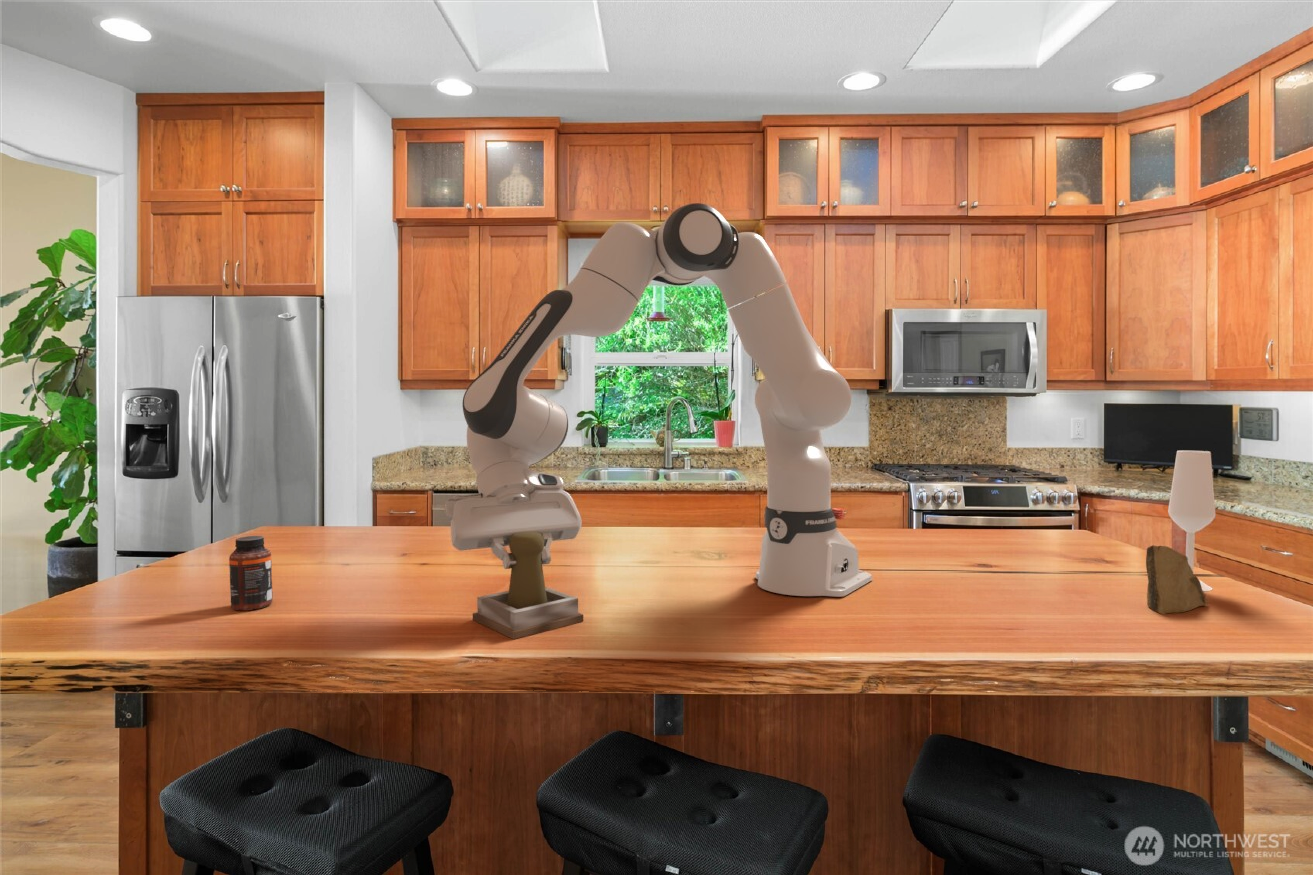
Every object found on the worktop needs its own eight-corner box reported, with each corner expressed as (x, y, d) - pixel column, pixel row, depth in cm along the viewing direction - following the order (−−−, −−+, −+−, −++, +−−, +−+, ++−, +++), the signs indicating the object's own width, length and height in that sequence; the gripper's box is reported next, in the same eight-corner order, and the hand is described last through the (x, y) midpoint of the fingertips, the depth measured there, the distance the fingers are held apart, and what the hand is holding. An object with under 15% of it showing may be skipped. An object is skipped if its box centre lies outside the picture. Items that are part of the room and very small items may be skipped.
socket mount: (539, 604, 116) (539, 583, 115) (583, 621, 107) (583, 598, 106) (472, 619, 108) (472, 597, 107) (513, 639, 99) (513, 614, 98)
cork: (538, 611, 103) (538, 537, 103) (500, 608, 105) (499, 535, 104) (553, 599, 109) (552, 529, 109) (516, 597, 111) (516, 527, 110)
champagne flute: (1220, 588, 124) (1226, 452, 123) (1199, 593, 121) (1204, 453, 120) (1178, 579, 130) (1183, 449, 129) (1157, 583, 127) (1161, 450, 126)
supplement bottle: (281, 603, 116) (279, 535, 116) (247, 613, 111) (244, 542, 110) (257, 599, 119) (254, 533, 118) (222, 609, 114) (219, 539, 113)
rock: (1193, 584, 118) (1128, 573, 120) (1219, 551, 112) (1150, 540, 114) (1215, 639, 110) (1145, 626, 112) (1245, 606, 104) (1170, 593, 106)
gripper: (445, 483, 107) (462, 560, 99) (570, 476, 117) (595, 545, 109) (439, 509, 111) (455, 584, 103) (561, 500, 121) (584, 568, 113)
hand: (528, 564), depth 106 cm, fingers closed on cork, 4 cm apart
